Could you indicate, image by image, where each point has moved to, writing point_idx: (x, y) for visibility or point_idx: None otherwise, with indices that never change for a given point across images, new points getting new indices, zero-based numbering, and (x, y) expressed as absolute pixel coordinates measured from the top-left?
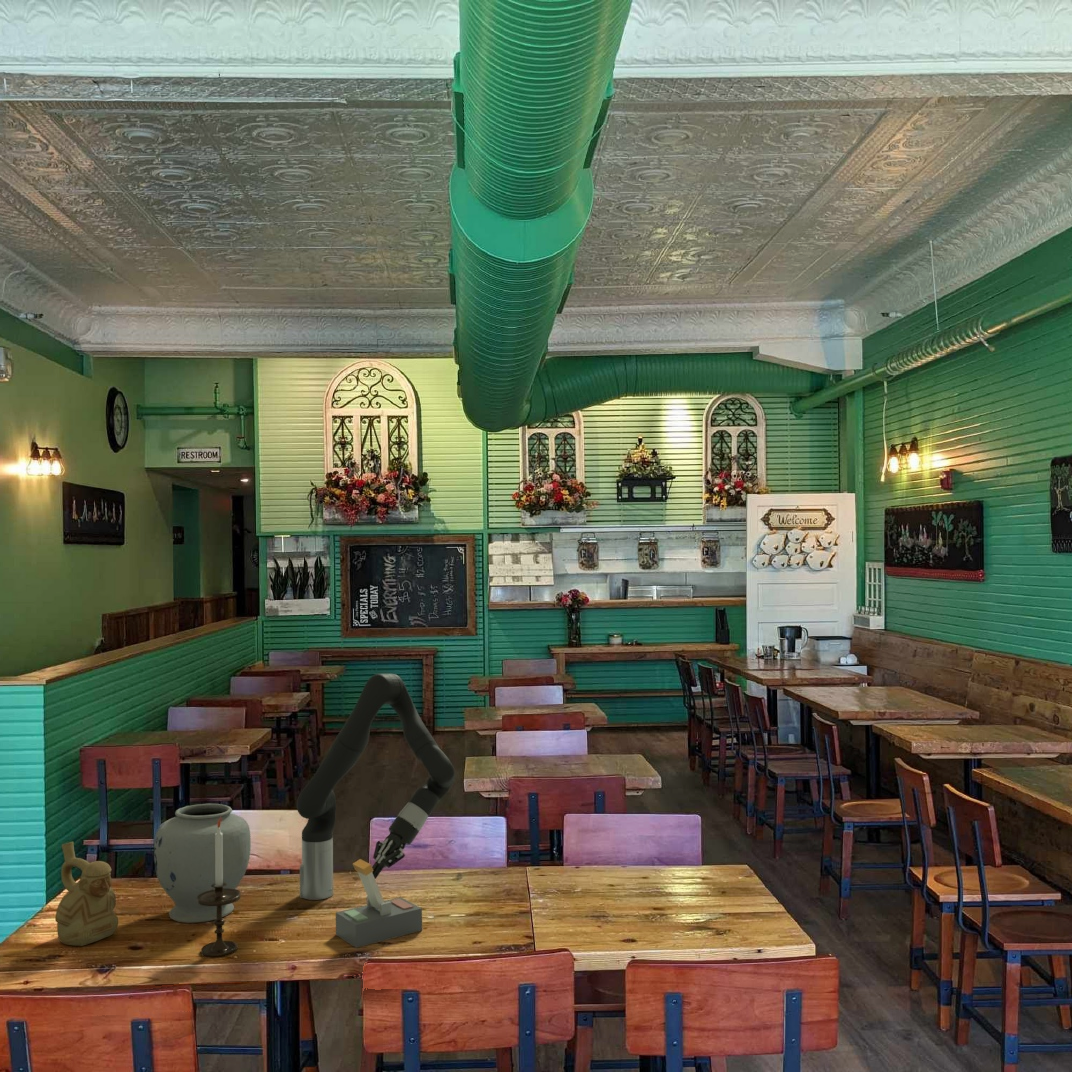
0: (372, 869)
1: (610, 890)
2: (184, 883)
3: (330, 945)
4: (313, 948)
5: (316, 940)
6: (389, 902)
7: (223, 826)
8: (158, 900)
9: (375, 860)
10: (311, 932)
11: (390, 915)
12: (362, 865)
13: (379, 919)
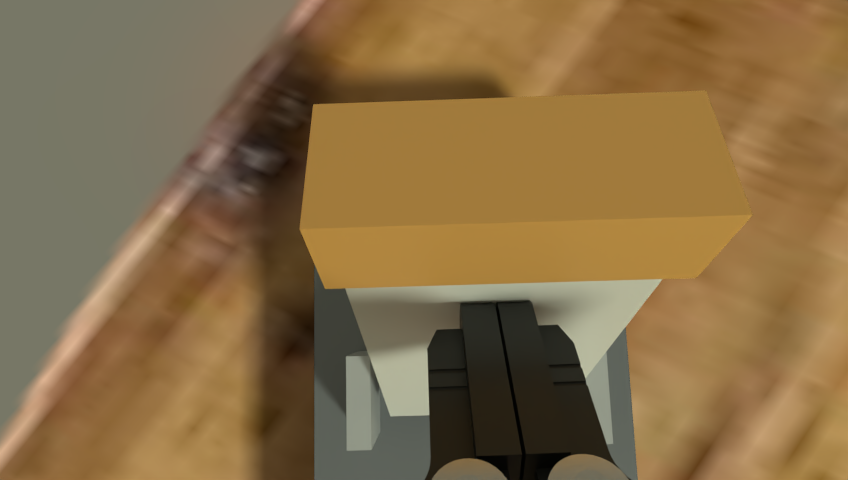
0: (322, 271)
1: None
2: None
3: (451, 91)
4: (465, 12)
5: (557, 62)
6: (352, 436)
7: None
8: None
9: (606, 476)
10: (681, 83)
11: (327, 407)
12: (452, 143)
13: (316, 313)
